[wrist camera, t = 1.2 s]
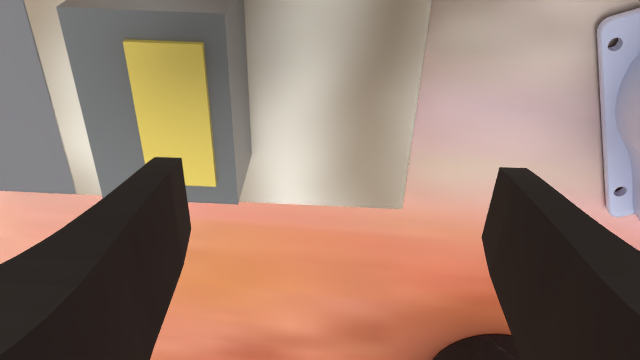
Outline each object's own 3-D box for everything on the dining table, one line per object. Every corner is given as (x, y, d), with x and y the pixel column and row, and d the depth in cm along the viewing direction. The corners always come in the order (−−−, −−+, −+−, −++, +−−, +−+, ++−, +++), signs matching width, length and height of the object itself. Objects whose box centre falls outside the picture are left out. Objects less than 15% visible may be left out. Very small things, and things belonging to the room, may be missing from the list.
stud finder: (243, -18, 19) (222, 15, 16) (251, 154, 23) (237, 208, 20) (100, -23, 19) (52, 9, 16) (133, 149, 23) (100, 201, 20)
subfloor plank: (439, -96, 18) (444, -90, 17) (400, 193, 25) (402, 209, 24) (-258, -121, 19) (-292, -117, 18) (-112, 170, 25) (-131, 184, 24)
